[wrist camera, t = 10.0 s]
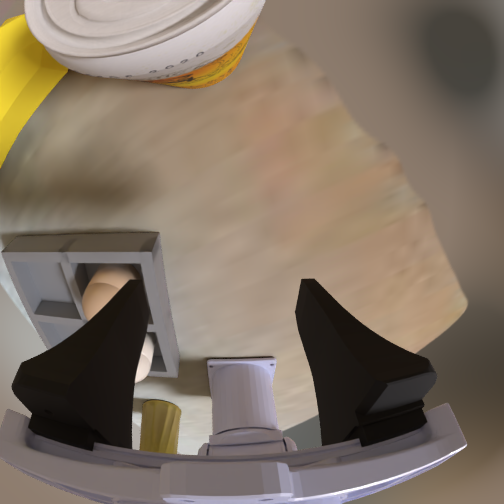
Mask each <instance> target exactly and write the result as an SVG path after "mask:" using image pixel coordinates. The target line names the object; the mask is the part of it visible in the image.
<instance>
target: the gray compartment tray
mask: <svg viewBox="0 0 504 504" xmlns="http://www.w3.org/2000/svg"><path fill="white" fill-rule="evenodd" d="M1 253H2V256H3V259H4V261H5V264H6V267H7V269H8V272H9V274H10V276H11V279H12V281H13V284H14V286H15V288H16V290H17V293H18V295H19V297H20V299H21V301H22V303H23V305H24V307H25V309H26V311H27V313H28V315H29V317H30V319H31V321H32V323H33V325H34V327H35V328H36V330H37V332H38V334H39V336H40V337H41V339H42V341H43V342H44V344H45V346H46V348H47V349H48V350H49V349H51V348H52V347H54V346H56V345H57V344H59V343H60V342H62V341H63V340H65V339H66V338H68V337H69V336H70V335H72V334H73V333H75V332H76V331H77V330H78V329H80V328H81V327H82V326H83V325H85V324H86V323H87V322H88V320H87V319H86V317H85V315H84V312H83V309H82V298H83V294H84V292H85V290H86V288H87V286H88V284H89V282H90V281H91V279H92V277H93V275H94V274H95V272H96V270H97V268H98V267H99V265H100V264H101V263H130V264H131V265H132V266H134V267H135V268H136V269H137V271H138V272H139V274H140V276H141V279H142V281H143V286H144V291H145V295H146V300H147V304H148V308H149V312H150V314H149V321H148V328H147V332H153V333H154V335H155V338H156V342H155V347H154V352H153V357H152V363H151V368H150V371H149V373H148V375H147V376H156V377H174V378H178V371H179V361H180V354H179V350H178V345H177V340H176V335H175V330H174V325H173V320H172V314H171V309H170V303H169V297H168V291H167V285H166V278H165V271H164V264H163V257H162V249H161V241H160V233H159V232H157V233H102V234H66V235H38V236H17V237H16V238H15V239H14V240H13V241H12V242H11V243H10V244H9V245H8V246H7V247H6V248H5V249H4V250H3V251H2V252H1Z"/></svg>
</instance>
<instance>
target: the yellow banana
mask: <svg viewBox="0 0 504 504" xmlns="http://www.w3.org/2000/svg"><path fill="white" fill-rule="evenodd" d="M67 72H68V68H67V67H65V66H63V65H62V64H60V63H59V62H58V61H56V60H55V59H54V58H53V57H52V56H51V55H50V54H49V53H48V51H47V50H46V49H45V47H44V45H43V44H41V43H40V42H39V41H38V40H37V39H36V38H35V37H34V35H33V34H32V33H31V31H30V29H29V27H28V25H27V22H26V19H25V14H23V15H20V16H16V17H13V18H10V19H7V20H5V22H4V23H3V24H2V25H1V27H0V169H1V166H2V164H3V162H4V160H5V158H6V156H7V154H8V152H9V150H10V149H11V147H12V145H13V143H14V141H15V139H16V138H17V136H18V134H19V132H20V131H21V129H22V128H23V127H24V125H25V124H26V122H27V121H28V119H29V118H30V117H31V115H32V114H33V113H34V111H35V110H36V109H37V107H38V106H39V105H40V104H41V102H42V101H43V100H44V99H45V97H46V96H47V95H48V94H49V92H50V91H51V90H52V89H53V88H54V87H55V85H56V84H57V83H58V82H59V81H60V80H61V79H62V77H63V76H64V75H65V74H66V73H67Z"/></svg>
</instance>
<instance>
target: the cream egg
mask: <svg viewBox="0 0 504 504" xmlns="http://www.w3.org/2000/svg"><path fill="white" fill-rule="evenodd" d="M155 342H156V338H155V335H154V333H153V332H147V334H146V337H145V341H144V345H143V349H142V352H141V356H140V360H139V364H138V368H137V372H136V378H135V383H137V382H139V381H141V380H143V379H144V378H145V377H146V376H147V375H148V373H149V371H150V368H151V363H152V357H153V352H154V347H155Z"/></svg>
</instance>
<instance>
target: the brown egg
mask: <svg viewBox="0 0 504 504" xmlns="http://www.w3.org/2000/svg"><path fill="white" fill-rule="evenodd" d="M130 279H141V276H140V274H139V272H138V271H137V269H136V268H135V267H134V266H132V265H131V264H130V263H101V264H100V265H99V267H98V268H97V270H96V272H95V274H94V275H93V277H92V279H91V281H90V282H89V284H88V286H87V288H86V290H85V292H84V294H83V298H82V309H83V312H84V315H85V317H86V319H87V320H88V321H89V320H90V319H91V318H92V317H93V316H94V315H95V314H97V313H98V312H99V311H100V310H101V309H102V308H103V307H104V306H105V305H106V304H107V303H108V302H109V301H110V300H111V298H112V297H113V296H114V295H115V294H116V293H117V292H118V291H119V290H120V289H121V288H122V287H123V286H124V285H125V284H126V283H127V282H128V281H129V280H130Z"/></svg>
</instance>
